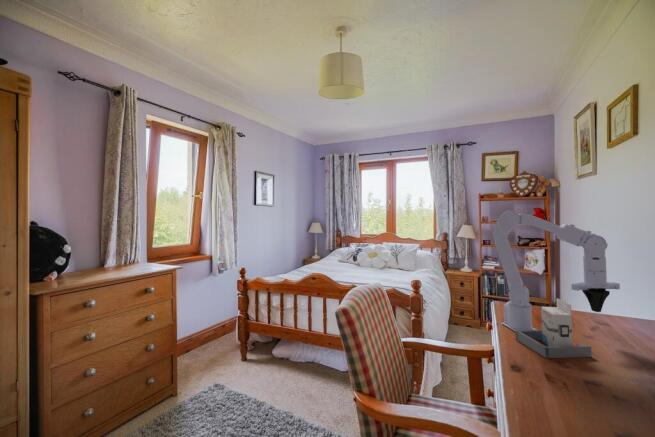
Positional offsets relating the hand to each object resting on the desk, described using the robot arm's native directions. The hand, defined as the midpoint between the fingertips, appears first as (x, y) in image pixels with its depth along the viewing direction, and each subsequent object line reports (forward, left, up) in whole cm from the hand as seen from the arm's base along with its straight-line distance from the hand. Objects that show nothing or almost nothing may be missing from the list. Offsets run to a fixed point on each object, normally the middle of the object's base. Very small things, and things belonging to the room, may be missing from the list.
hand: (596, 311), depth 101 cm
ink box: (+5, -17, -10) cm, 20 cm away
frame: (+5, -19, -9) cm, 22 cm away
